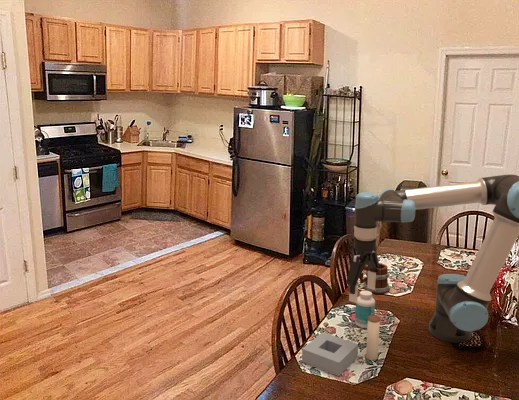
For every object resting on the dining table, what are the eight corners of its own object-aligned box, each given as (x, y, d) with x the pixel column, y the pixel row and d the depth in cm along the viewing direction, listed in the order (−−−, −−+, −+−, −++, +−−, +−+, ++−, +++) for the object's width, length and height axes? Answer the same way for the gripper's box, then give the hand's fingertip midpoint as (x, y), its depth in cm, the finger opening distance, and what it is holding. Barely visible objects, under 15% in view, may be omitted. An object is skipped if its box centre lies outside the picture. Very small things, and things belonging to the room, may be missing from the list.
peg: (379, 356, 165) (381, 317, 162) (374, 361, 162) (377, 321, 159) (368, 352, 168) (370, 313, 164) (364, 357, 165) (366, 318, 161)
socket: (357, 357, 165) (358, 344, 164) (338, 376, 154) (339, 362, 153) (322, 344, 173) (322, 332, 172) (302, 361, 162) (302, 348, 161)
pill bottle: (374, 329, 183) (376, 297, 180) (354, 328, 185) (356, 296, 182) (373, 320, 190) (375, 289, 187) (354, 319, 192) (356, 288, 189)
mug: (390, 296, 212) (386, 264, 209) (358, 297, 216) (354, 266, 214) (392, 286, 222) (388, 256, 220) (361, 287, 227) (357, 257, 225)
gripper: (371, 227, 174) (368, 281, 179) (336, 244, 155) (335, 304, 160) (390, 231, 169) (387, 286, 174) (357, 249, 150) (355, 310, 155)
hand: (362, 295), depth 167 cm, fingers open, 13 cm apart
